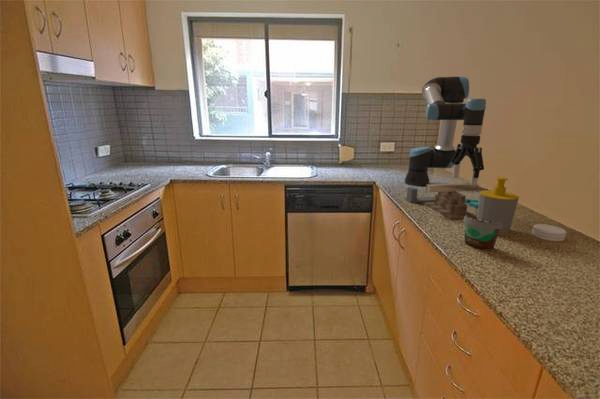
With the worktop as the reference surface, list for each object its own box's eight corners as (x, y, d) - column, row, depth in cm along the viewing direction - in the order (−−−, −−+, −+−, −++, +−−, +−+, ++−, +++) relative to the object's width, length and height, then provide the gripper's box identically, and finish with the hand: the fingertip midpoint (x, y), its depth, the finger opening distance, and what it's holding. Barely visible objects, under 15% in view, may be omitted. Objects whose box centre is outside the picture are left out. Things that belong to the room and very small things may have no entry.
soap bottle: (510, 227, 127) (521, 176, 121) (512, 238, 116) (524, 183, 110) (474, 221, 133) (482, 173, 127) (473, 231, 123) (482, 179, 117)
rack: (405, 199, 166) (406, 186, 164) (447, 198, 169) (448, 185, 167) (410, 202, 160) (411, 189, 158) (453, 201, 163) (455, 188, 161)
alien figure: (455, 201, 164) (487, 213, 145) (456, 197, 163) (487, 209, 145) (486, 198, 169) (520, 210, 150) (487, 194, 168) (521, 205, 150)
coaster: (532, 229, 125) (534, 221, 124) (564, 236, 119) (566, 227, 118) (530, 237, 117) (532, 228, 116) (564, 244, 111) (566, 235, 110)
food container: (454, 243, 112) (458, 217, 109) (460, 238, 116) (464, 213, 113) (493, 254, 103) (498, 226, 100) (498, 248, 107) (503, 221, 105)
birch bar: (425, 190, 144) (426, 184, 144) (473, 189, 147) (474, 182, 146) (428, 192, 142) (429, 185, 141) (477, 190, 144) (478, 184, 144)
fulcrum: (425, 204, 157) (427, 185, 154) (447, 203, 158) (450, 184, 156) (450, 219, 136) (453, 197, 133) (475, 218, 137) (479, 196, 135)
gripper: (447, 132, 149) (441, 175, 155) (482, 137, 126) (473, 188, 132) (461, 132, 150) (455, 175, 156) (499, 137, 126) (490, 187, 133)
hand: (463, 181), depth 144 cm, fingers open, 13 cm apart
